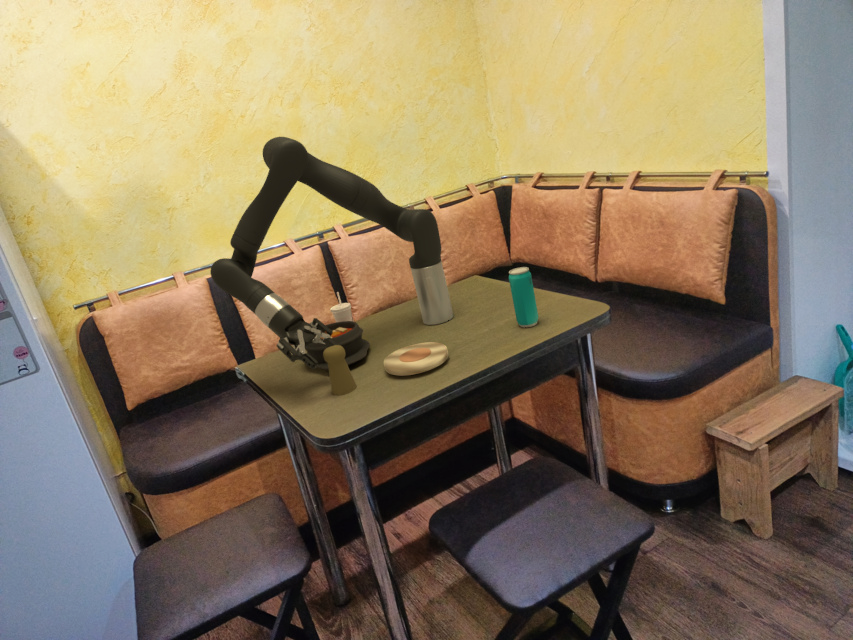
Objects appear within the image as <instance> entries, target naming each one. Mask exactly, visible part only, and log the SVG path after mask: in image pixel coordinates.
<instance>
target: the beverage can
mask: <svg viewBox="0 0 853 640" xmlns="http://www.w3.org/2000/svg"><path fill="white" fill-rule="evenodd" d="M508 274H509V275H508V281H509V287H510V291H511V297H512V303H513V308H514V313H515V320H516V322H517V324H518V326H520V327H521V328H525V327H526V328H531V327H534V326H537V324H538V321H539V312H538V305H537V300H536V295H535V289H534V283H533V278H532V273H531V272H530V269H529V267H527V266H521V267H516V268H512V269H510V270H509V271H508ZM526 328H525V329H526Z"/></svg>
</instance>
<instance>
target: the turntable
mask: <svg viewBox="0 0 853 640" xmlns="http://www.w3.org/2000/svg"><path fill="white" fill-rule="evenodd" d="M448 358H449V351H448V347H447V346H446V345H445V344H443V343H441V342H434V341H432V342H431V341H430V342H429V341H428V342H427V341H426V342H420V343H419V342H418V343H415V344H411V345H407V346H403V347H401V348H399V349H396V350H394V351H393V352H391V353H390V354H388V355H387V356H386V357H385V358H384V359H383V365H384V366H383V367H384V370H385V372H386V373H388V374H389V375H391V376H392V375H394V376H411V375H412V376H413V375H416V374H421V373H425V372H428V371H430V370H433V369H435V368H437V367H439V366H441V365H442V364H443V363H445V362H446V361H447V360H448Z"/></svg>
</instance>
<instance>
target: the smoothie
mask: <svg viewBox="0 0 853 640" xmlns="http://www.w3.org/2000/svg"><path fill="white" fill-rule="evenodd" d="M336 296H337V298H338V302H339V303H338V304H335V305H334V306H333V305H332V306H331V308H330V313H332V315H333V318H334V320H335V323H336V322H343V321H353V315H352V304H351V303H350V302H342V300H341V296H340V293H339V291H337V292H336Z"/></svg>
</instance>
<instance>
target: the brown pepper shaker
mask: <svg viewBox="0 0 853 640" xmlns="http://www.w3.org/2000/svg"><path fill="white" fill-rule="evenodd" d="M323 357H324V360H325V361H326V362H327V363H328V368H329V370H328V374H329V380H330V388H331V394H332V395H334V396H342V395H346V394H349V393H351V392H353V391H355V390H356V389H357V384H356V381H355V379H354V377H353V375H352V372H351V370H350V368H349V365H347V363H346V361H345V350H344V348H343V347H342V346H340V345H334V346H330V347H328V348H326V349H325V350H324V352H323Z"/></svg>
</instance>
